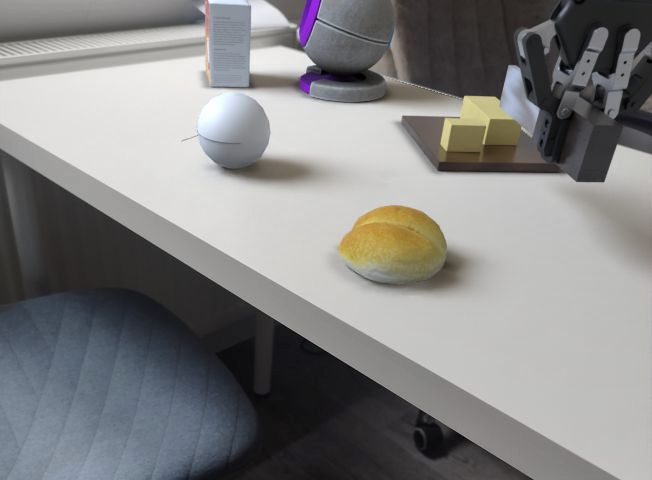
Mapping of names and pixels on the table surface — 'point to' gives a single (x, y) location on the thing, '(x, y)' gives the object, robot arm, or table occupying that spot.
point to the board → (488, 159)
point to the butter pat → (462, 135)
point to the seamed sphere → (233, 130)
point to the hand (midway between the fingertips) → (565, 160)
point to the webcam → (345, 47)
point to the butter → (491, 120)
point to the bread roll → (394, 245)
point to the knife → (582, 136)
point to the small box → (227, 42)
